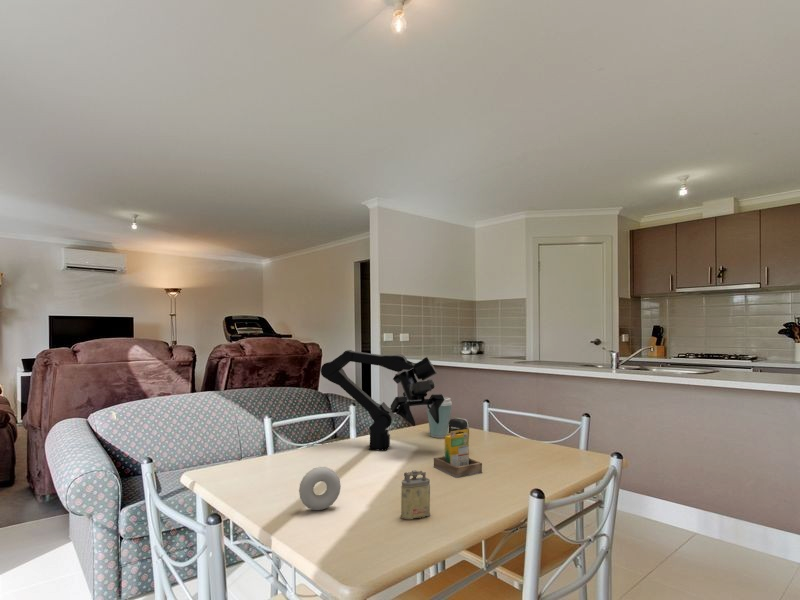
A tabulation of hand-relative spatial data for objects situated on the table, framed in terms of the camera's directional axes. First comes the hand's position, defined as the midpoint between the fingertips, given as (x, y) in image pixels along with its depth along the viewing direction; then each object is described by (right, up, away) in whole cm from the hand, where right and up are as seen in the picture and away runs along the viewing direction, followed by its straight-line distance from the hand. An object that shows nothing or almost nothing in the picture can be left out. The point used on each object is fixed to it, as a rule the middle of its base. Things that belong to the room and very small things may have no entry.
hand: (426, 424), depth 153 cm
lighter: (-5, -9, -46) cm, 47 cm away
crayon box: (+9, -10, -11) cm, 18 cm away
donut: (-28, -9, -43) cm, 52 cm away
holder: (+9, -11, -11) cm, 18 cm away
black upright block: (+11, -12, +8) cm, 19 cm away
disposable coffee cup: (+7, -13, +31) cm, 34 cm away
